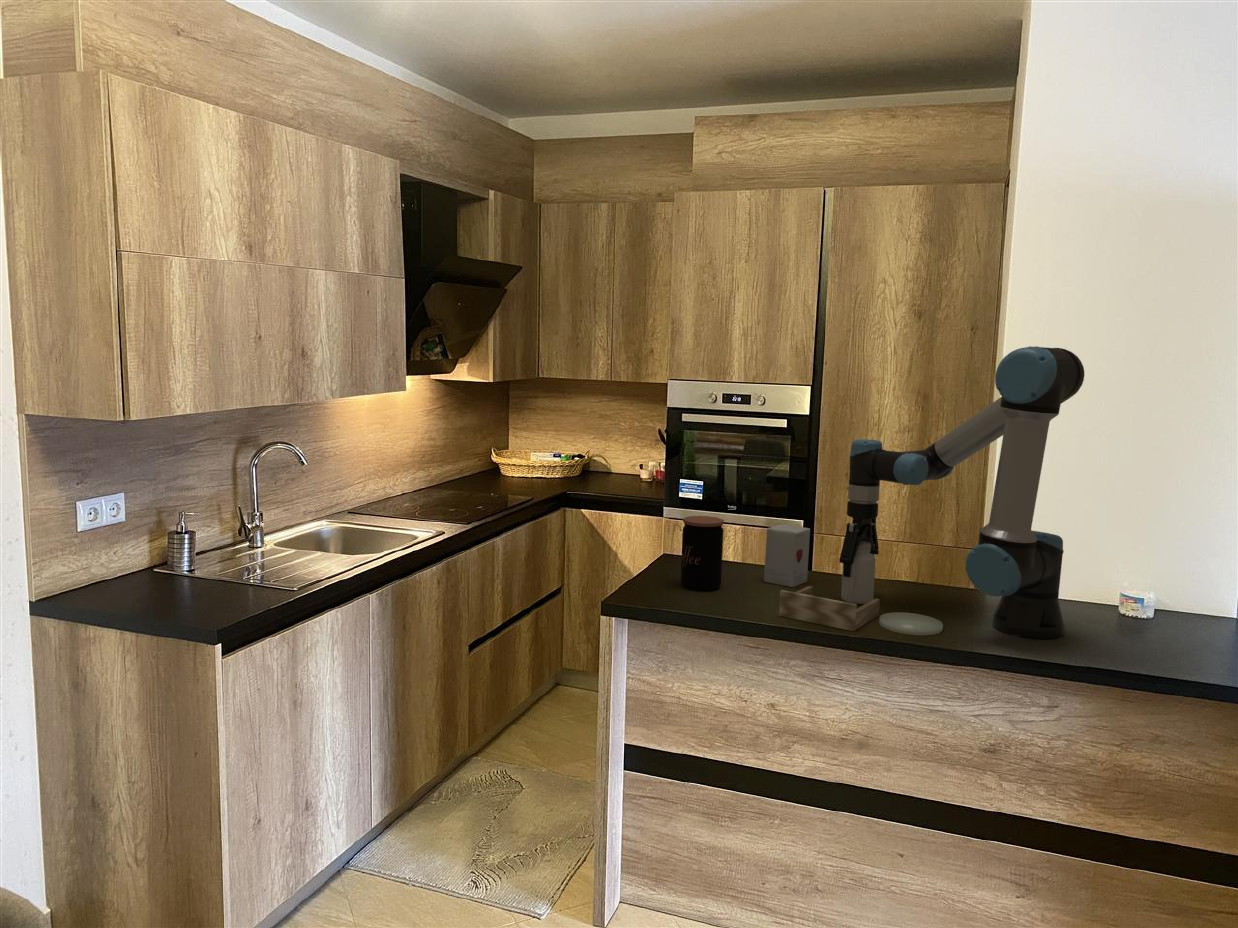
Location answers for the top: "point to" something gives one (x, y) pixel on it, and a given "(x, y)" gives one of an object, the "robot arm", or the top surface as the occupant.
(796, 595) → the oak stall
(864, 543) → the pill bottle
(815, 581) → the top surface
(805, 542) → the supplement box
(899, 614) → the sage coaster
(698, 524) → the coffee jar
